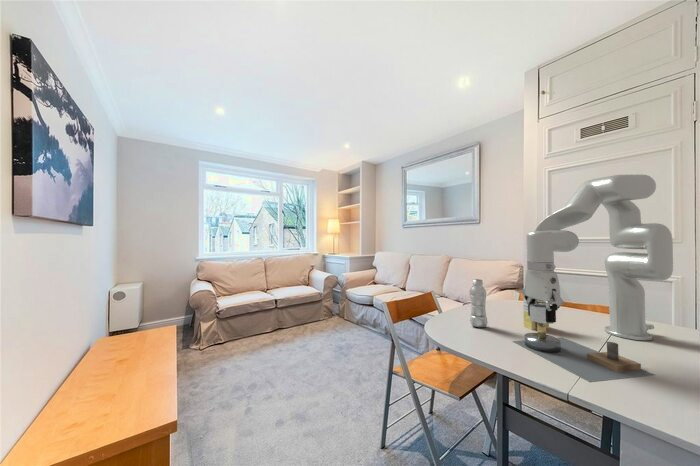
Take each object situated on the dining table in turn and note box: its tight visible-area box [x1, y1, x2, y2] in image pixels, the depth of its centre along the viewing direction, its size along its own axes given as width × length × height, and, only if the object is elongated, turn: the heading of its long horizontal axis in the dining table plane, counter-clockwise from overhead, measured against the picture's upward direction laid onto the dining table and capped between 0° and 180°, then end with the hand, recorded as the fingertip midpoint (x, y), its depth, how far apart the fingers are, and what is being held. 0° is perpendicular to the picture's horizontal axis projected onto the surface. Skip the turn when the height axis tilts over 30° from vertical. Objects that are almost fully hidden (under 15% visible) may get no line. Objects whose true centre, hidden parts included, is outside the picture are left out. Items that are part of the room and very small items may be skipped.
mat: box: [511, 336, 656, 383], centre depth 83 cm, size 21×27×1 cm
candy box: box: [522, 295, 550, 331], centre depth 109 cm, size 9×4×15 cm, turn 103°
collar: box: [530, 304, 551, 325], centre depth 90 cm, size 6×6×5 cm
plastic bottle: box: [469, 278, 488, 329], centre depth 112 cm, size 6×7×20 cm
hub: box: [524, 323, 561, 353], centre depth 90 cm, size 10×10×8 cm
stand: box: [587, 341, 642, 372], centre depth 77 cm, size 8×8×6 cm
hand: (541, 318), depth 90 cm, fingers closed on collar, 6 cm apart
